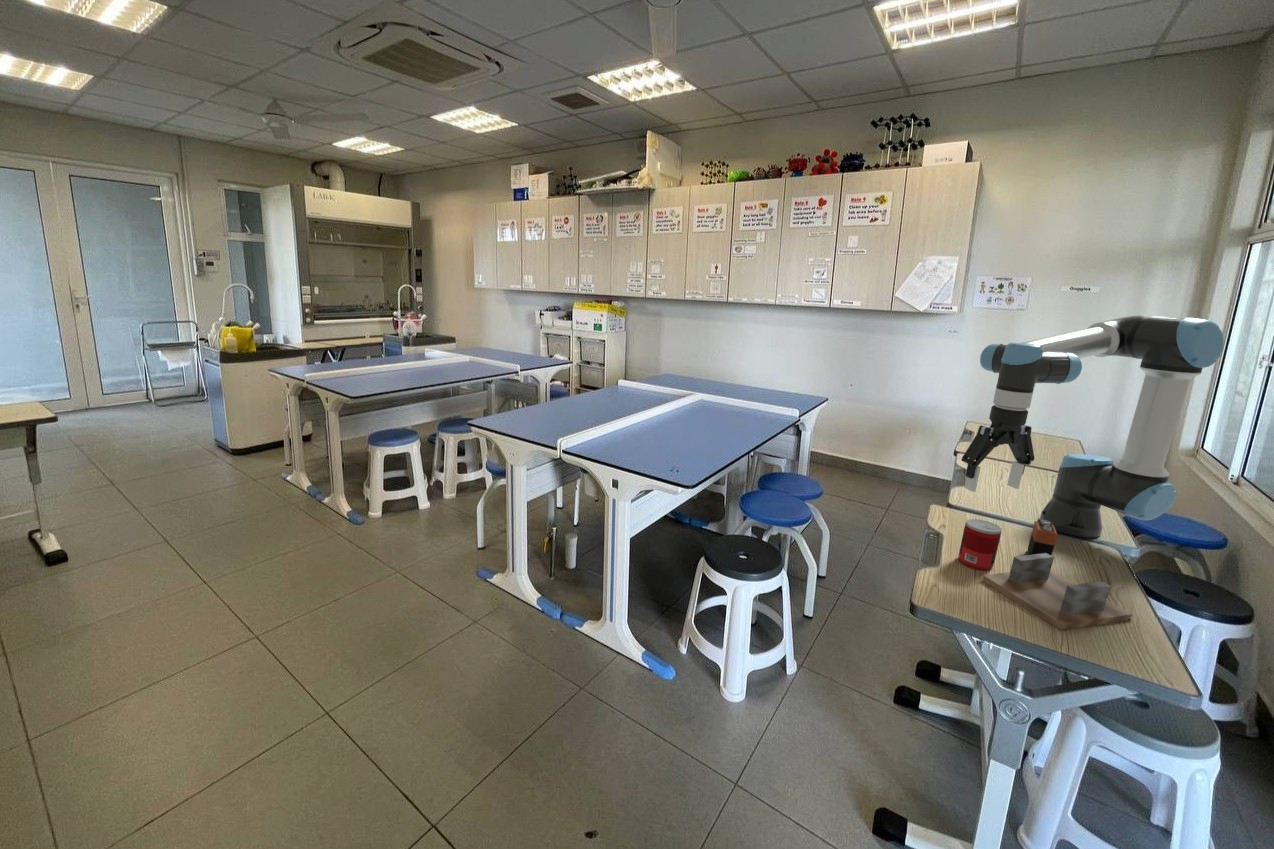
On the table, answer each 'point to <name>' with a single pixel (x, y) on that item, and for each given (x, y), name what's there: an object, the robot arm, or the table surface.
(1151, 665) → the table surface
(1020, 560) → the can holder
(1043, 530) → the battery
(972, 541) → the canned food
